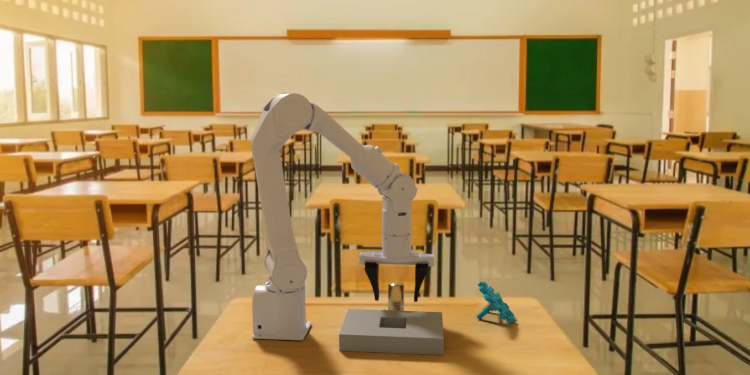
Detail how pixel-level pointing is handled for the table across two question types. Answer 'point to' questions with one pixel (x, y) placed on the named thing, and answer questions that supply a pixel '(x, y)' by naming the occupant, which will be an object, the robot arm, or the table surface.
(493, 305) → the teal knobby piece
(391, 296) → the brass pin
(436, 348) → the hole plate
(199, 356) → the table surface
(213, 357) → the table surface
